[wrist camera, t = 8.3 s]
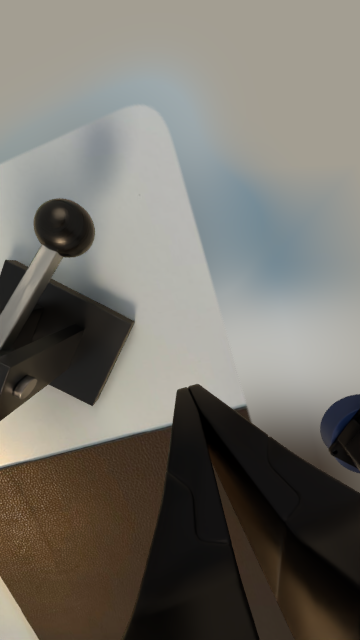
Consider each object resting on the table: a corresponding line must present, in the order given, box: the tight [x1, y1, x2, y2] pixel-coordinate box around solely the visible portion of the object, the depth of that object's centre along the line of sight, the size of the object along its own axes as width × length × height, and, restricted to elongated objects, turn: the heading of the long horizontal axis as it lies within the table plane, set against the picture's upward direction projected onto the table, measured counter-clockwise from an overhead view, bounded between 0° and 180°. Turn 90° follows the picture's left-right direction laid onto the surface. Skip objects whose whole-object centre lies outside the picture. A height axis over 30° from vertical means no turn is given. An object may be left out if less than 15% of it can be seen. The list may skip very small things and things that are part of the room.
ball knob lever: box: [0, 198, 95, 356], centre depth 15 cm, size 13×4×4 cm, turn 153°
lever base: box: [0, 260, 135, 421], centre depth 18 cm, size 9×12×10 cm
